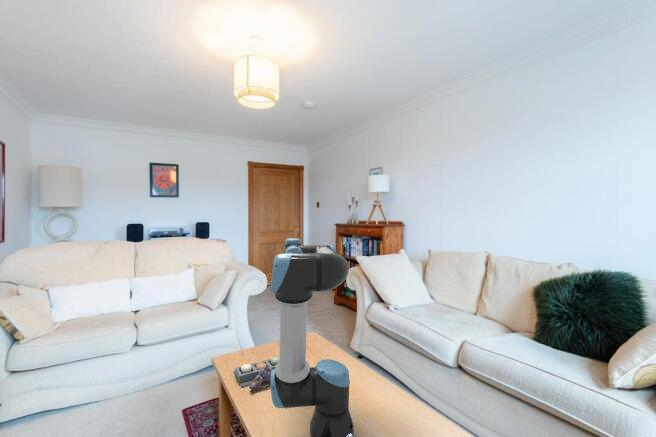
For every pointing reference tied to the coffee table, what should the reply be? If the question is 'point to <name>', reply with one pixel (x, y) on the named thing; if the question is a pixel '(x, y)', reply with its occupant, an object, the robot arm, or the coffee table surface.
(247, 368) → the button cream
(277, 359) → the button sage
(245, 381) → the button panel
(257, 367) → the button terracotta
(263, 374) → the purple lumpy piece
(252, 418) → the coffee table surface
